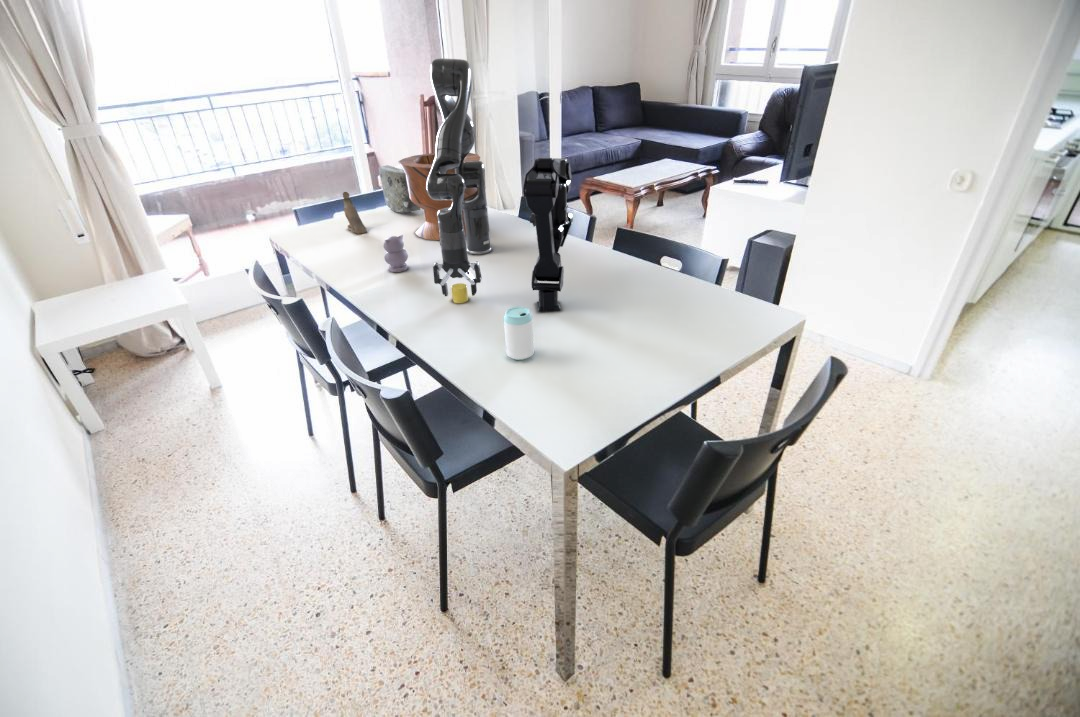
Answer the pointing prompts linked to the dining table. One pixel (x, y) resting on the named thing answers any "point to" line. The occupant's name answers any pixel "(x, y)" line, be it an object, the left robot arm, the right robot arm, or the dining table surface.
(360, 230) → the brown carved statuette
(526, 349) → the can
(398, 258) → the cat figurine
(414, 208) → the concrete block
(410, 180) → the wooden planter
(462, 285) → the canister
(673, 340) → the dining table surface
